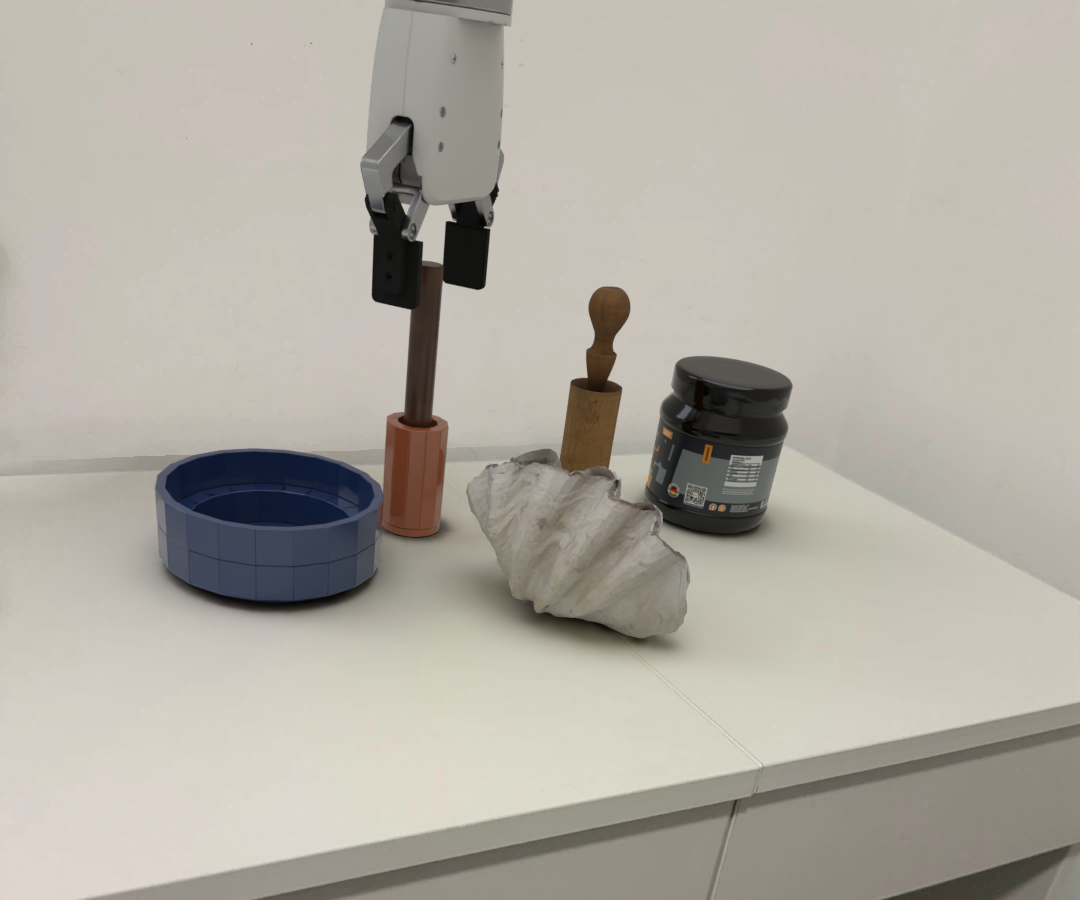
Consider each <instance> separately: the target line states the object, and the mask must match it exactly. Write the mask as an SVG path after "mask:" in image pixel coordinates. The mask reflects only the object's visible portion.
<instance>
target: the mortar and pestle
mask: <svg viewBox="0 0 1080 900" xmlns="http://www.w3.org/2000/svg"><path fill="white" fill-rule="evenodd" d="M630 300H631V299H630V297H629V295H628V294H627V292H626V291H625V290H624V289H623V288H621V287H618V286H607V285H606V286H601V287H598V288H597V289H596V290H594V292H593V293H592V294H591V297H590V298H589V301H588V307H587V309H588V315H589V319H590V322H591V325H592V328H593V331H594V338H593V342H592V345H591V346H590V347H588V348H587V349H586V350H585V365H586V366H585V367H586V375H587V376H586V377H577V378H574V379H571V381H570V383H569V391H568V398H567V406H566V413H565V421H564V428H563V433H562V434H563V435H562V442H561V448H560V455H559V459H560V462H561V467H562V469H564V470H568V471H569V473H572V472H573V471H575V470H578V471H584V470H586V469H588V468H591V467H596V466H599V467H606V468H608V469H610V464H611V457H612V450H613V444H614V439H615V435H616V434H615V433H616V428H617V422H618V418H619V417H618V416H619V410H620V406H621V401H622V400H621V399H622V395H623V386H622V385H620V384H619V383H617V382H615V381H612V380H610V379H609V377H610V375H611V373H612V371H613V368H614V366H615V363H616V361H617V357H618V353H617V352H616V351H615V349H614V341H615V338H616V336H617V334H618V333H619V332H620V331H621V329H622V328H623V326H624V325H626V322H627V320H628V319H629V317H630V314H631V301H630Z"/></svg>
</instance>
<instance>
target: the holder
mask: <svg viewBox="0 0 1080 900" xmlns="http://www.w3.org/2000/svg"><path fill="white" fill-rule="evenodd" d="M403 423H404V411H397V412H393V413H391V414H388V415H387V416H386V423H385V437H384V438H385V439H384V458H383V474H382V476H383V477H382V493H383V497H384V503H383V521H382V529H384V530H386V531H388V532H389V533H391V534H395V535H398V536H401V537H402V536H403V537H409V538H410V537H411V538H421V537H428V536H432V535H434V534H436V533H437V532H438V531H439V530H440V526H441V517H442V508H443V497H444V496H443V495H444V484H445V474H446V461H447V452H448V451H447V449H448V439H449V430H450V429H449V422H448V421H447V420H446V419H444V418H442V417H441V416H439V415H434V414H432V425H431V428H415V427H410V426H406V425H403Z"/></svg>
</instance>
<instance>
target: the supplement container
mask: <svg viewBox="0 0 1080 900" xmlns="http://www.w3.org/2000/svg"><path fill="white" fill-rule="evenodd" d="M670 387H671V389H672V391H671V392H670V393H669V394H668V395H667V396H665V397H664V398H663V400H662V401H661V403H660V406H659V420H658V425H657V431H656V435H655V439H654V446H653V451H652V455H651V460H650V464H649V470H648V476H647V481H646V483H645V486H644V498H645V502H650V503H652V504H654V505H655V506H657V508H658V509H659V510H660V511H661V512H662V516H663V519H664V520H666V521H668V522H670V523H671V524H675V525H677V526H680V527H683V528H686V529H689V530H693V531H697V532H698V531H699V532H703V533H711V534H723V535H725V534H727V535H728V534H729V535H730V534H739V533H742V532H743V533H744V532H747V531H749V530H752V529H754V528H756V527H757V526H759V525H760V524H761V523H762V522H763V520H764V518H765V517H766V514H767V510H768V502H769V499H770V496H771V491H772V488H773V483H774V480H775V475H776V473H777V468H778V465H779V460H780V457H781V453H782V449H783V445H784V442H785V439H786V438H787V436H788V433H789V428H790V427H789V423H788V422H789V421H788V419H787V418H786V416H785V414H784V411H786V410H787V408H788V407H789V403H790V400H791V396H792V392H793V389H794V384H793V381H792V380H791V379H790V378H789V377H788V376H787V375H785V374H783V373H782V372H780V371H778V370H775V369H773V368H771V367H767V366H764V365H761V364H758V363H754V362H752V361H751V362H750V361H746V360H741V359H737V358H731V357H722V356H712V355H691V356H685V357H682V358H680V359H678V360H677V361H676V362H675V364H674V367H673V372H672V377H671V383H670Z"/></svg>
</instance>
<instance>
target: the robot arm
mask: <svg viewBox="0 0 1080 900" xmlns="http://www.w3.org/2000/svg"><path fill="white" fill-rule="evenodd" d="M513 11H514V0H384V7H383V8H382V13H381V18H380V23H379V26H378V33H377V39H376V43H375V51H374V56H373V57H374V58H373V65H372V75H371V84H370V94H369V104H368V105H369V106H368V117H367V130H366V131H367V133H366V148H365V154H364V155H363V156H362V157H361V159H360V165H359V168H360V173H361V178H362V182H363V186H364V191H365V196H364V205H365V208H366V211H367V212H368V215H369V223H368V228H369V232H370V234H371V235H373V237H372V238H373V239H372V240H373V241H372V242H373V243H372V270H371V299H372V300H373V301H374V302H375V303H378V304H383V305H386V306H387V305H388V306H392V307H396V308H401V309H405V310H410V311H411V310H413V309H416V308H418V307H419V305H420V292H421V274H422V261H423V255H424V253H423V252H424V241H421V240H418V239H417V238H418V235H419V233H420V230H421V228H422V225H423V223H424V220H425V218H426V216H427V213H428V210H429V207H430V206H435V207H437V206H445V205H447V206H448V210H449V213H450V217H451V219H452V221H451V220H446V221H445V224H444V225H445V226H444V240H443V241H444V243H443V257H442V265H444V273H443V283H445V284H447V285H452V286H456V287H461V288H466V289H470V290H475V291H481V290H483V289H484V288H485V287H486V285H487V274H488V272H487V271H488V262H489V251H490V239H491V228H492V226H493V224H494V221H495V210H494V205H495V203H496V201H497V198H498V197H499V193H500V188H499V181H500V177H501V174H502V170H503V166H504V163H505V154H504V152H503V150H502V149H501V144H502V129H503V111H504V110H503V109H504V88H505V87H504V86H505V85H504V84H505V27H512V22H513V21H512V20H513ZM402 204H403V205H409V207H408V209H407V212H406V211H405V209H404V207H403V205H402Z"/></svg>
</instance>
